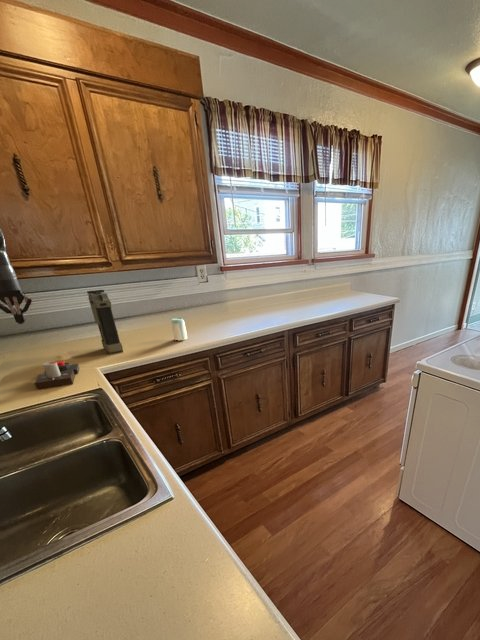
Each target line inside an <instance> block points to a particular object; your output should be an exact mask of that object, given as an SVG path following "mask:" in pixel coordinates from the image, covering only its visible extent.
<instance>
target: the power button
mask: <svg viewBox="0 0 480 640" xmlns="http://www.w3.org/2000/svg"><path fill="white" fill-rule="evenodd" d="M55 362H57V365H58V367H59V366H63V365H65V363H64V362H65V361H64V360H56V361H55Z"/></svg>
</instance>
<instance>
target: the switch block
mask: <svg viewBox="0 0 480 640" xmlns="http://www.w3.org/2000/svg"><path fill="white" fill-rule="evenodd" d="M64 363H65V365H63V366H59V367H58V368H59V371H67V370H73V371H74V374H75V375H79V371H80V365H79V363H73V364H70V363H69V362H66V361H64ZM43 374H47V373H46V371H45V370H44V372H43Z"/></svg>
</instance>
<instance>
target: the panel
mask: <svg viewBox="0 0 480 640" xmlns="http://www.w3.org/2000/svg"><path fill="white" fill-rule="evenodd" d="M60 373H61V375H60V376H59V377H55V378H48V376H47V374H44V373H40V374H38V376H37V377H36V379H35V381H34V386H35V388H36V391H41V390H47V389H53V388H59V387H64V386H72V385H74V382H75V379H76V374H74V371H73V370H67V371H60Z"/></svg>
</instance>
